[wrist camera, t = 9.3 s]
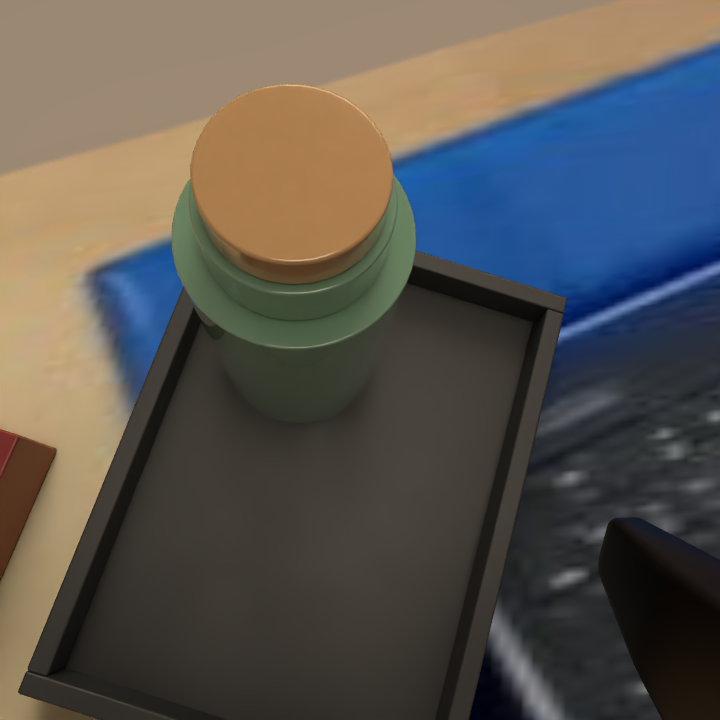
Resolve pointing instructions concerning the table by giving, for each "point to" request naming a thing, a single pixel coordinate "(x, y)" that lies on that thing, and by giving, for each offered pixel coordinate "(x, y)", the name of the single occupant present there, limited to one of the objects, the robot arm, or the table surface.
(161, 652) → the baking tray
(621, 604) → the robot arm
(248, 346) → the jar
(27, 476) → the panel
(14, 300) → the table surface
